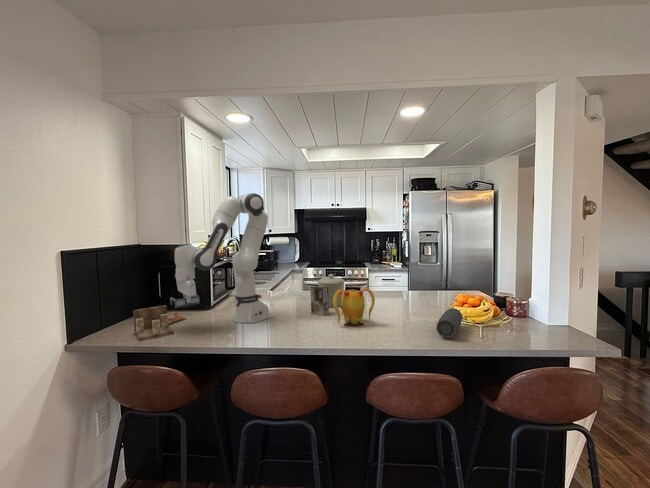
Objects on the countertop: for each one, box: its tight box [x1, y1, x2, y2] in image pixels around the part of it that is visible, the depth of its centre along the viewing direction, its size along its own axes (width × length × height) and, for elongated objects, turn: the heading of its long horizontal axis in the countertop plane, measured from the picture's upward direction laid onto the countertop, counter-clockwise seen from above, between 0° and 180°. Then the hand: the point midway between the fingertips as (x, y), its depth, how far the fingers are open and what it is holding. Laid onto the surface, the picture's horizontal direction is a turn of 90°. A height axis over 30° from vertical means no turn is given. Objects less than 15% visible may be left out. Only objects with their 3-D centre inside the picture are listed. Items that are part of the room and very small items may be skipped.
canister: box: [317, 273, 346, 308], centre depth 206 cm, size 18×18×21 cm
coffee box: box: [310, 285, 330, 316], centre depth 187 cm, size 9×6×16 cm
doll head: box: [333, 287, 376, 328], centre depth 167 cm, size 22×15×20 cm
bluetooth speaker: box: [436, 307, 463, 339], centre depth 151 cm, size 23×9×10 cm, turn 149°
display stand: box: [133, 304, 175, 342], centre depth 157 cm, size 15×14×12 cm
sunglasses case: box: [168, 312, 187, 327], centre depth 176 cm, size 18×7×7 cm
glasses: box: [169, 294, 201, 309], centre depth 165 cm, size 12×10×4 cm
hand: (187, 302), depth 162 cm, fingers closed on glasses, 2 cm apart
